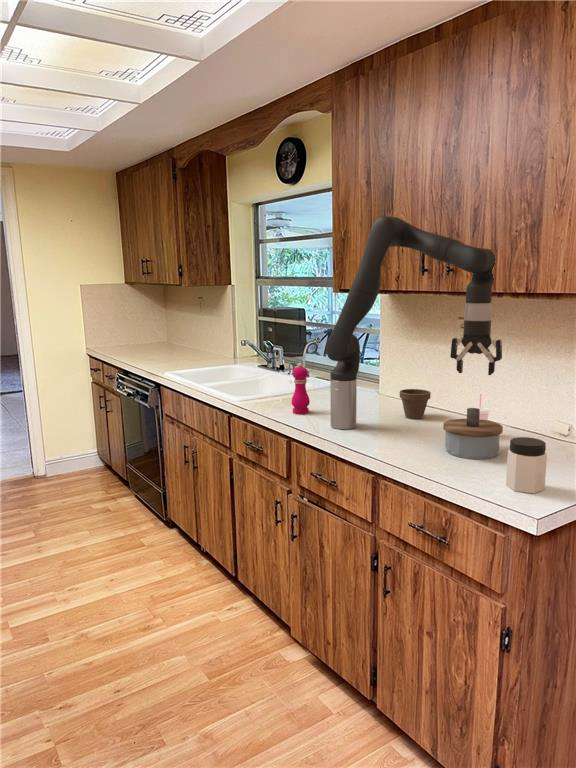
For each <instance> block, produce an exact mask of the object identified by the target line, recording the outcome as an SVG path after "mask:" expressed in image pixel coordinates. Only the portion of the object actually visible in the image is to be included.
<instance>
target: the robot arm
mask: <svg viewBox="0 0 576 768" xmlns="http://www.w3.org/2000/svg"><path fill="white" fill-rule="evenodd" d="M393 247H401V248H408V249H412V250H415V251H418V252H420V253H422V254H424V255H426V256H428V257H429V258H432V259H433V260H437V261H438V262H439V261H440V262H442V263H445V264H448V265H453V266H455V267H456V268H459V269H460V270H463V271H466V272H468V273H471V274H472V275H471V281H470V282H469V283H468V284H467V286H466V291H465V307H464V313H463V334H462V335H463V336H462V338H458V337H454V338H452V339H451V346H450V355H449V356H450V358H451V359H454V360H456V371H457V373H458V374H462V373H463V371H464V370H463V369H464V366H463V365H464V360H463V359H464V357H465V356H466V355H467V354H468V353H469V354H471V355H473V354H477V355H482V354H483V355H484V356H485V357H486V358H487V360H488V361H489V362H488V371H487V372H488V373H487V375H488V376H492V375H493V374H494V373H495V371H496V369H495V367H496V362H499V361H501V360H502V359H503V341H502V339H492V338H491V337H492V336H491V333H492V332H491V331H492V330H491V329H492V314H493V313H492V312H493V311H492V295H493V294H492V293H493V292H492V288H493V284H494V281H495V277H494V278H493V274H492V269H493V267H494V265H495V260H496V259H497V258H496V259H495V255H496V254H495V255H494V253H495V252H494V251H493V250H492V251H493V252H494V253H493V252H492V251H491V249H489V248H482V247H475V246H472V245H469V244H465V243H464V242H462V241H460V240H457V239H454V238H451V237H447V236H444V235H441V234H436V233H433V232H430V231H427V230H426V231H425V230H423V229H420V228H418V227H416V226H414V225H413V224H410V223H408V222H407V221H405V220H404V219H401V218H400V217H396V216H387V215H384V216H383V215H382V216H379V217H378V218H376V220H375V221H374V222H373V224H372V226H371V227H370V230H369V233H368V237H367V240H366V245H365V248H364V252H363V256H362V258H361V260H360V263H359V265H358V268H357V271H356V274H355V276H354V279H353V281H352V284H351V286H350V287H349V288H350V289H349V290H348V293H347V297H346V299H345V302H344V304H343V306H342V309H341V311H340V314H339V316H338V319H337V322H336V323H335V325H334V327H333V329H332V330H331V332H330V335H329V337H328V338H327V342H326V345H325V352H326V356H327V357H328V359H329V360H331V361H334V362H337V363H336V366H334V368H333V369H332V370H331V372H330V374H329V375H330V377H329V378H330V427H331V428H333V429H338V430H348V429H350V430H351V429H354V428H356V427H357V387H358V386H357V382H358V381H357V380H358V379H357V378H358V377H357V376H358V373H359V371H360V358H361V357H360V355H361V347H360V341H359V339H358V337H357V336H356V335H355V334H354V332H355V330H356V328H357V327H358V325H359V324H360V323H361V322H362V321H363V319H364V318H365V317H366V316H367V314H369V312H370V311H371V309H372V308H373V306H374V305H375V302H376V300H377V298H378V296H379V294H380V293H379V292H380V290H381V283H382V266H383V261H384V259H385V256H386V253H387V252H388V250H389V248H393ZM460 344H461V345H462V346H463V347H464V348H463V349H462V350H461V352H460V353H459V354H458V353H457V352H458V346H459V345H460ZM491 345H493V348H495V356H494V355H493V354H492V353H493V352H492V351H491V350H490V349H489V348H490V346H491Z"/></svg>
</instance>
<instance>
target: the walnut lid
mask: <svg viewBox="0 0 576 768" xmlns="http://www.w3.org/2000/svg"><path fill="white" fill-rule="evenodd" d="M479 415H480V409H478V408H472V407H468V408H466V418H453V419H449V420H446V421H445V422H443V427H442V428H443V430H444V431H445V432H446V431H447V432H449V433H452V434H456V435H461V436H468V437H491V436H497V435H500V436H501V434H503V431H504V427H503V425H502V424H501V423H498V422H494V421H491V420H488V421H487V420H481V419H479Z"/></svg>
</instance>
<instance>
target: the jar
mask: <svg viewBox="0 0 576 768" xmlns="http://www.w3.org/2000/svg"><path fill="white" fill-rule="evenodd" d="M509 440H510V441H509V449H508V450H507V461H506V479H505V485H506V486H507V487H509V489H511V490H512V491H513V492H517V493H518V492H519V493H525V494H536V493H539V492H542V491H545V488H546V487H545V486H546V473H547V459H548V453H546V449H547V448H546V447H547V445H546V442H545V441H544V440H542V439H539V438H535V437H527V436H517V437H513V438H511V439H509Z"/></svg>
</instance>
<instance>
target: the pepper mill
mask: <svg viewBox="0 0 576 768" xmlns="http://www.w3.org/2000/svg"><path fill="white" fill-rule="evenodd" d="M308 376H309V372H308V369H307V368H305V366H303V363H301V362H299V363H298V364H297V367H294V368H293V370H292V377H293V378H294V379H293V383H294V392H293V394H292V397H291V405H292V406H293V408H292V414H294V415H307V414H309V409H310V408H309V407H308V406H309V405H310V403H311V399H310V397H309V394H308V392H307V388H306V386H307V385H306V383H307V377H308Z"/></svg>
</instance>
